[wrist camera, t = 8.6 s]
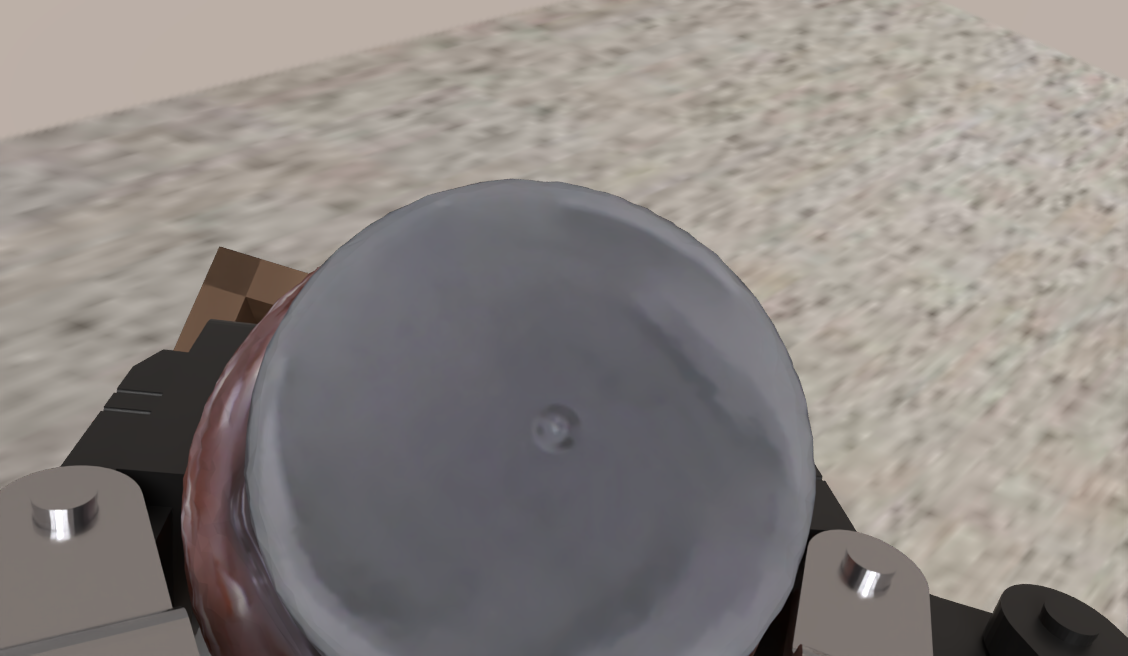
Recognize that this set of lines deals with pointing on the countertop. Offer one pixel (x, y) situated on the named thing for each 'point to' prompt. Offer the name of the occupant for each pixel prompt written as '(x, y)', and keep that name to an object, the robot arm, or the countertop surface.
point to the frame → (235, 305)
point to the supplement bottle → (503, 444)
